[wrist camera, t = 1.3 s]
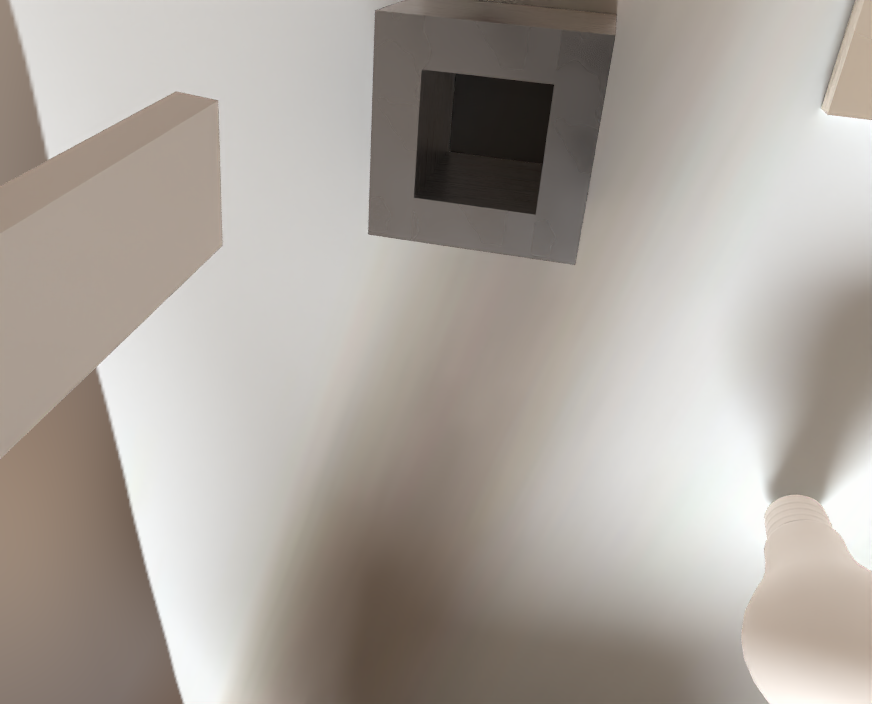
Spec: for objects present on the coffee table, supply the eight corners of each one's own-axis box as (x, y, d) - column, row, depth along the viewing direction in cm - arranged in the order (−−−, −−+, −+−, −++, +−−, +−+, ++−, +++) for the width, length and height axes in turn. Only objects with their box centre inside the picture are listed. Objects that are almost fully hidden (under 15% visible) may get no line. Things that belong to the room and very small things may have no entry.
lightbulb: (755, 432, 33) (806, 630, 24) (894, 476, 33) (1002, 696, 24) (697, 532, 37) (723, 742, 27) (824, 573, 36) (895, 802, 27)
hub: (583, 207, 30) (575, 264, 25) (410, 183, 31) (368, 234, 26) (617, 14, 27) (615, 35, 22) (420, -6, 28) (375, 10, 23)
